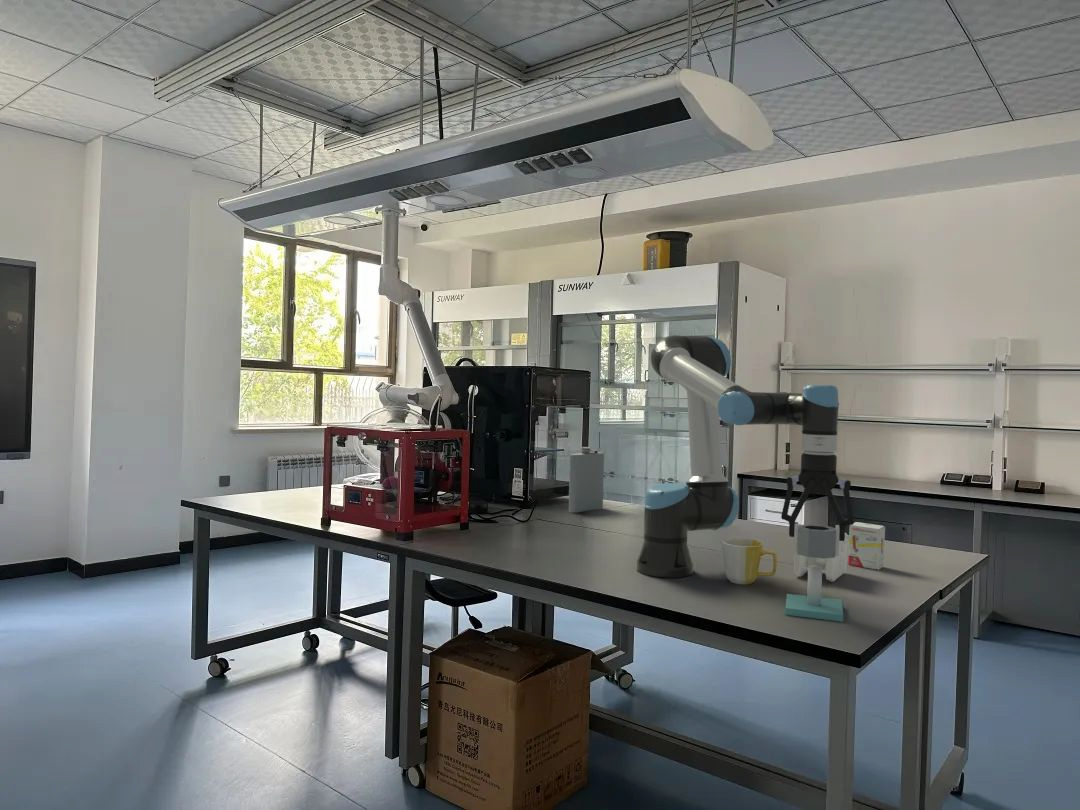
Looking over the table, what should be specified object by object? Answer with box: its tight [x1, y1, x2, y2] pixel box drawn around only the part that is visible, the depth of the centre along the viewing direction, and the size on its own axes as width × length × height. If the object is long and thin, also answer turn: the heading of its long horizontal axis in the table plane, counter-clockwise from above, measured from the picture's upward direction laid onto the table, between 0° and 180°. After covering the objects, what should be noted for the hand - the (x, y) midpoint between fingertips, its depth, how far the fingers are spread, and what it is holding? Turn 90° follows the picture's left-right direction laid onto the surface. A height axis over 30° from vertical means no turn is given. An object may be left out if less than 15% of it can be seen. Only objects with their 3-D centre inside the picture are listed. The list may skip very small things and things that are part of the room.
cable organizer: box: [793, 532, 849, 583], centre depth 200 cm, size 15×11×12 cm
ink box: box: [847, 521, 886, 570], centre depth 212 cm, size 9×5×12 cm, turn 49°
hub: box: [797, 523, 836, 559], centre depth 168 cm, size 8×8×6 cm
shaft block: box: [784, 565, 844, 623], centre depth 169 cm, size 12×12×10 cm
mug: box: [721, 537, 778, 585], centre depth 191 cm, size 14×10×10 cm
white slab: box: [568, 446, 605, 514], centre depth 295 cm, size 17×5×25 cm, turn 132°
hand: (815, 552), depth 169 cm, fingers closed on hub, 8 cm apart
